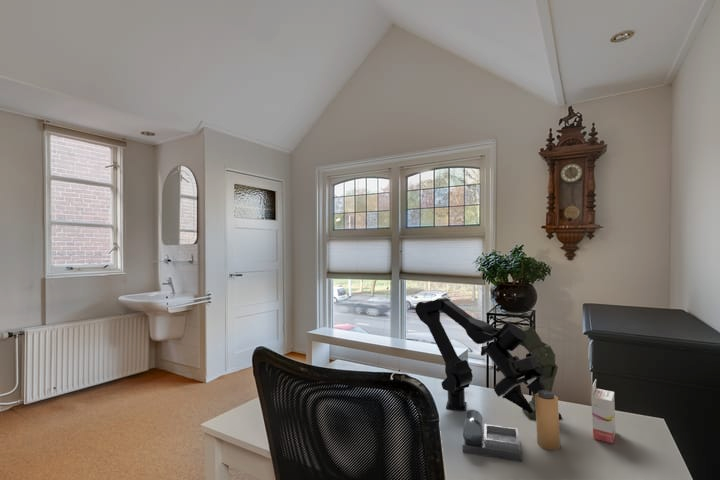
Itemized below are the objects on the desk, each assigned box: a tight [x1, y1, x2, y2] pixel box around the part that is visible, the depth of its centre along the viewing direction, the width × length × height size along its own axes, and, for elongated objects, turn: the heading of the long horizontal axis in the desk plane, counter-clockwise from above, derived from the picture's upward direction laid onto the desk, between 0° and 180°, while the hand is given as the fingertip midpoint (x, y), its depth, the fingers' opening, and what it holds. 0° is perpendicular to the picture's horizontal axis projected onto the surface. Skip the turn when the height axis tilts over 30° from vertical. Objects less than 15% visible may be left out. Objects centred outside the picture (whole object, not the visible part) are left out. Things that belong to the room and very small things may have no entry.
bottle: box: [535, 390, 561, 451], centre depth 98 cm, size 6×6×14 cm
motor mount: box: [462, 409, 522, 463], centre depth 98 cm, size 12×14×7 cm
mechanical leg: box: [519, 325, 563, 420], centre depth 116 cm, size 14×7×30 cm, turn 85°
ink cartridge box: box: [591, 378, 617, 444], centre depth 102 cm, size 9×5×15 cm, turn 141°
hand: (540, 408), depth 99 cm, fingers open, 9 cm apart
